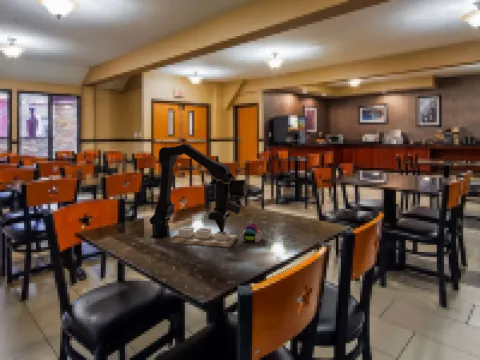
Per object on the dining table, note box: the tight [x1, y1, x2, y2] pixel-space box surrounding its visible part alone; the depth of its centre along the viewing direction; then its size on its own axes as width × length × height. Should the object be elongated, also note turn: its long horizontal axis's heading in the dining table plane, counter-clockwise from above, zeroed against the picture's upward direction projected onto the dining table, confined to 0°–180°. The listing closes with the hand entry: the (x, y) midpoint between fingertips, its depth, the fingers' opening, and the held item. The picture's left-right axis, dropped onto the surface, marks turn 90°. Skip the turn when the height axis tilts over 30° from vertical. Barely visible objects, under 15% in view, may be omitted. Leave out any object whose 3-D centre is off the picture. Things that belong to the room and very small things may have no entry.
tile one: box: [177, 226, 195, 238], centre depth 149 cm, size 5×5×3 cm
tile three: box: [214, 230, 230, 241], centre depth 145 cm, size 5×5×3 cm
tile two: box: [195, 227, 212, 240], centre depth 147 cm, size 5×5×3 cm
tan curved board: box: [169, 231, 238, 248], centre depth 147 cm, size 26×12×2 cm, turn 77°
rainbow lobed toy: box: [239, 222, 263, 244], centre depth 147 cm, size 8×10×7 cm
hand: (222, 231), depth 145 cm, fingers closed
